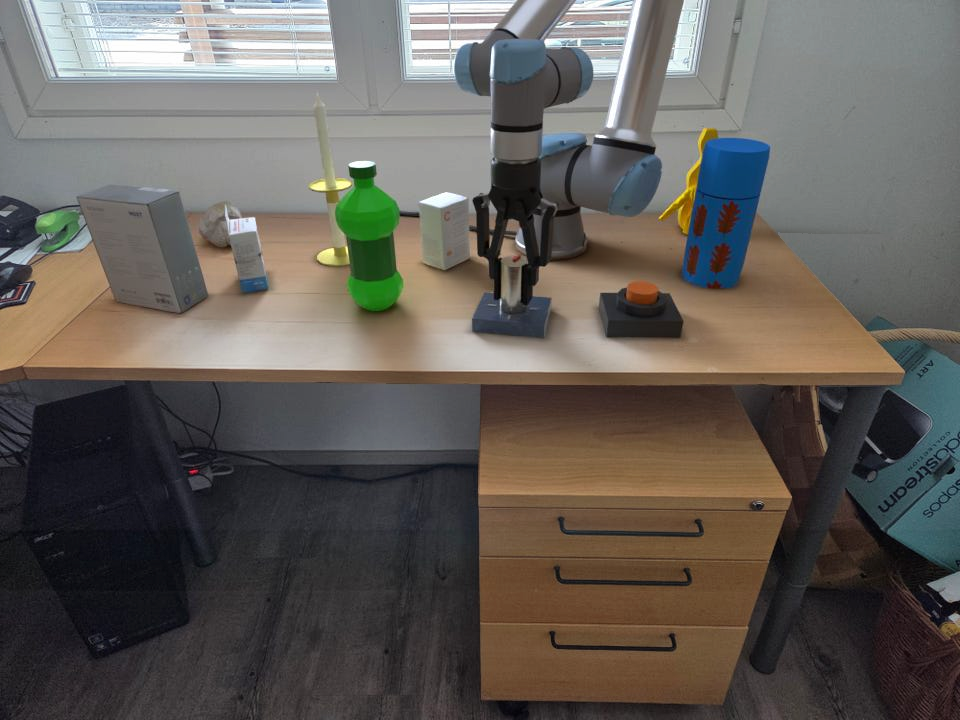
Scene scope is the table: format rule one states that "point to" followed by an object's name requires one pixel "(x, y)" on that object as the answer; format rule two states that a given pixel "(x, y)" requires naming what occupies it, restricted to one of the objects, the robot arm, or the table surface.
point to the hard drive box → (144, 246)
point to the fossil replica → (218, 223)
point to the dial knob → (512, 284)
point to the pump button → (642, 292)
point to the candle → (329, 191)
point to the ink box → (247, 253)
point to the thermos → (724, 211)
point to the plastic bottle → (370, 239)
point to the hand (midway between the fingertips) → (513, 298)
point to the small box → (445, 230)
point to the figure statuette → (690, 186)
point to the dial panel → (512, 317)
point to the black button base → (639, 316)
